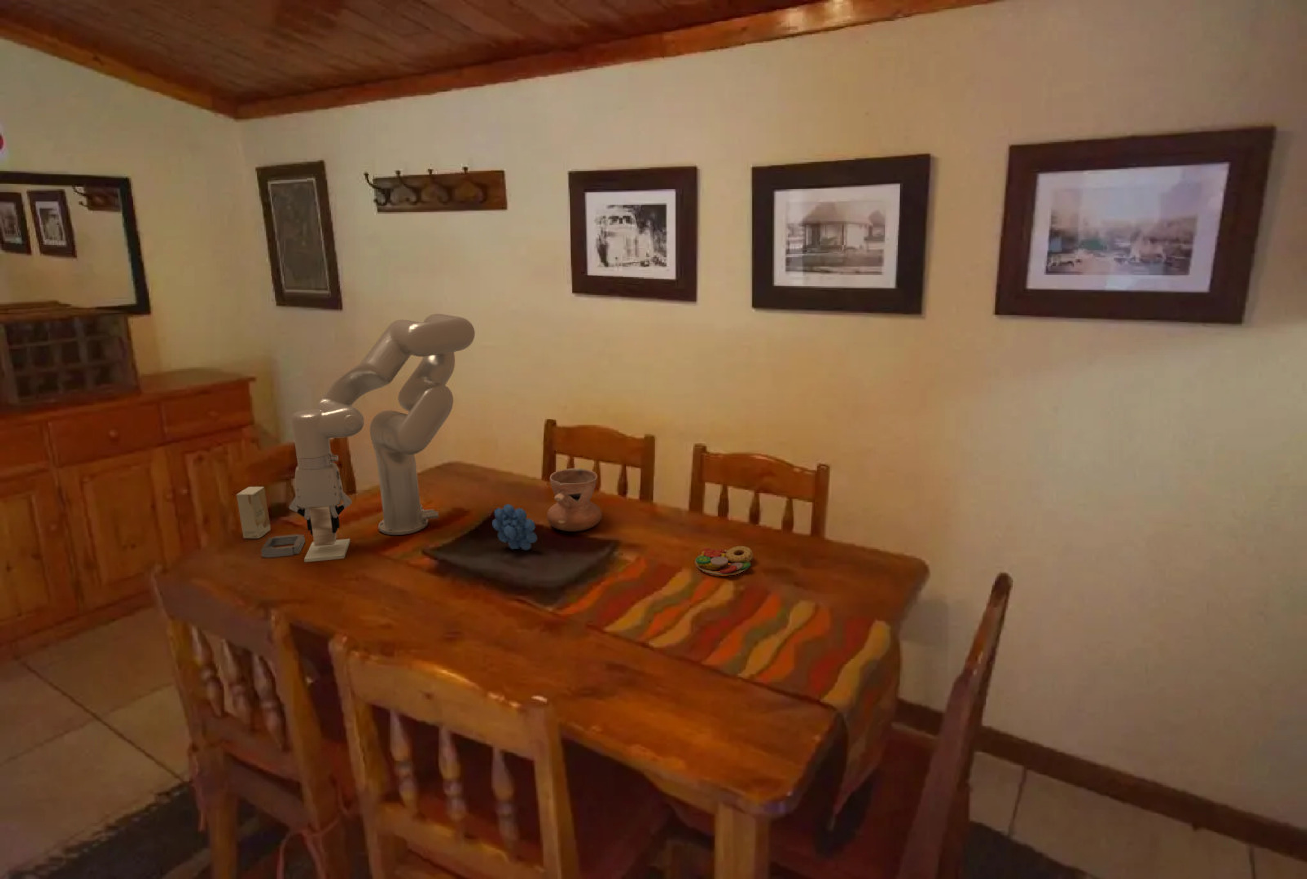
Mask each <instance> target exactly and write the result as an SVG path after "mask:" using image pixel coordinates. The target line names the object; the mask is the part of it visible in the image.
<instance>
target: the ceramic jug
mask: <svg viewBox="0 0 1307 879" xmlns="http://www.w3.org/2000/svg"><path fill="white" fill-rule="evenodd" d="M597 480H598V475H597V473H596V472H595V471H592V470H590V469H586V468H574V467H573V468H565V469H560V470H557V471H555V472H553V473H551V474H550V476H549V482H550V486H551V489H552V492H553V494H554V501H556V503H554V504H553V505H552V506H550V507H549V509H548V510H547V513H546V519H547V522H548V523H549V525H550V526H552V527H553V528H554V529H557V530H560V531H563V532H581V531H586V530H589V529H591V528H594V527H595V526H596V525H597V524H599V522H600V521H601V519H602V517H603V516H602V515H603V513H602V510H601V509H600V507H599V506H598V505H597V504H595V503H594V502H592V501H591V498H592V496H593V494H594V492H595V489H596V486H597Z"/></svg>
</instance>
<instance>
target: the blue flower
mask: <svg viewBox="0 0 1307 879" xmlns="http://www.w3.org/2000/svg"><path fill="white" fill-rule="evenodd" d="M493 516H494V517H495V519H492V523H491V525H492V528H493V529H494V530H495V531H498V532H497V537H498V540H499V541H500V542H502V543H505V544H506V543H507V542H508V543H507V544H508V547H509V548H510V549H511V550H513V549H518V550H519V549H520V548H521V549H522V550H524V551H528V550H530V549H531V547H532V544H534V543H536V541H537V540H538V537H537V534H536V532H534V531H535V528H536V524H535V522H534V521H533V519H531V518H527V517H528V514H527V512H526V510H524V509H523V508H520V507H518V508H516V509H515V507H514V506H513V505H511V504H509V503H507V504H505V505H503V507H502V508H500V507H498V508H496V509H495V510H494V512H493Z"/></svg>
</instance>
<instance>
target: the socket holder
mask: <svg viewBox="0 0 1307 879" xmlns="http://www.w3.org/2000/svg"><path fill="white" fill-rule="evenodd" d="M305 543H306V539H305V535H304V534H300V533H299V534H298V533H297V534H287V535H276V536H272V537H268V538H267V539H266V541H265V543H264V544H263V546H262V547H261V549H260V552H261V557H262V558H267V559H269V558H270V559H271V558H281V557H288V556H294V555H299V554H300V553H301V551H302V549H303V547H304V545H305ZM285 545H288V546H285ZM289 545H290V546H289ZM275 546H277V547H275Z"/></svg>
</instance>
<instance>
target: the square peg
mask: <svg viewBox="0 0 1307 879" xmlns="http://www.w3.org/2000/svg"><path fill="white" fill-rule="evenodd" d="M309 510H310V517H311V524H312V532H313V535H312V536H313V537H312V538H313V542H314V546H326V545H334V543H335V541H336V540H337V537H338V536H337V532H336V533H333V530H332V522H331V518H332V513H331V511H330V507H329V506H325V507H312V508H309Z"/></svg>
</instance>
